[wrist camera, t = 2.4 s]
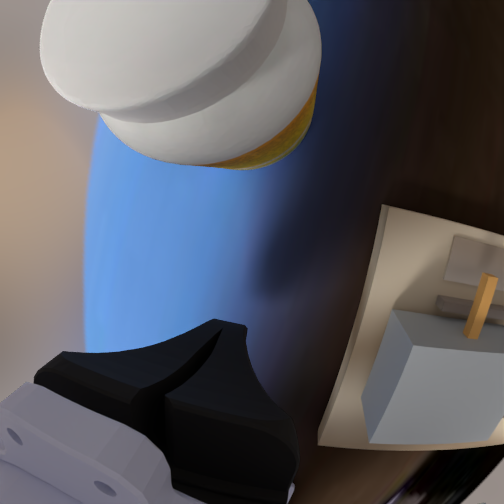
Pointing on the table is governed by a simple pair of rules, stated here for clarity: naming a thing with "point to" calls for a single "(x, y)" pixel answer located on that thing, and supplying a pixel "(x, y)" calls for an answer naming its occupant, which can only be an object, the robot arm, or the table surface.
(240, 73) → the supplement bottle
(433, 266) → the gauge board
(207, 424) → the robot arm
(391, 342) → the block
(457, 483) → the table surface
